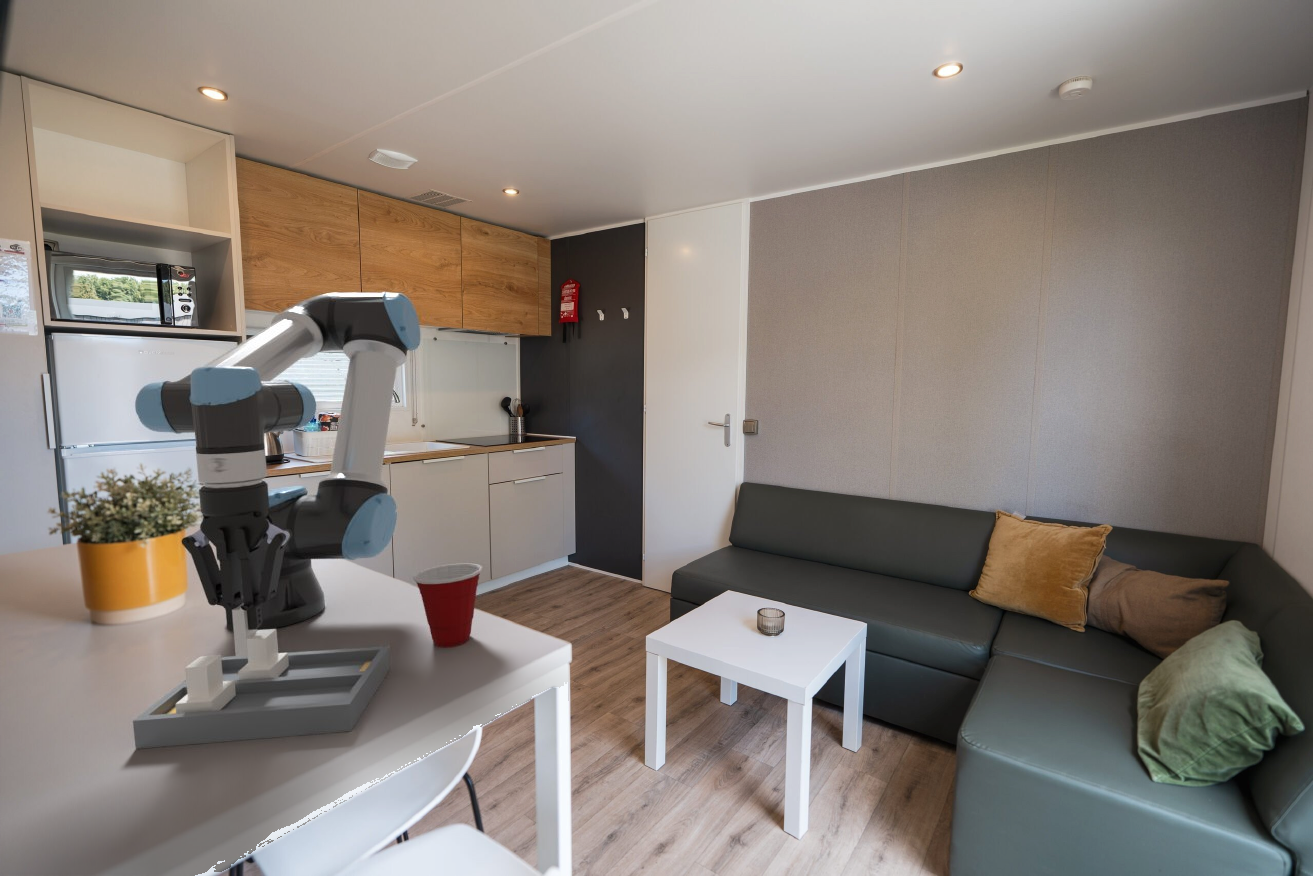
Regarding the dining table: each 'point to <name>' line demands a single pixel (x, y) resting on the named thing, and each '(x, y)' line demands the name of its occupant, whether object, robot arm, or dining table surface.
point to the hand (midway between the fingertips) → (247, 651)
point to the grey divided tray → (274, 700)
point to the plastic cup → (449, 601)
